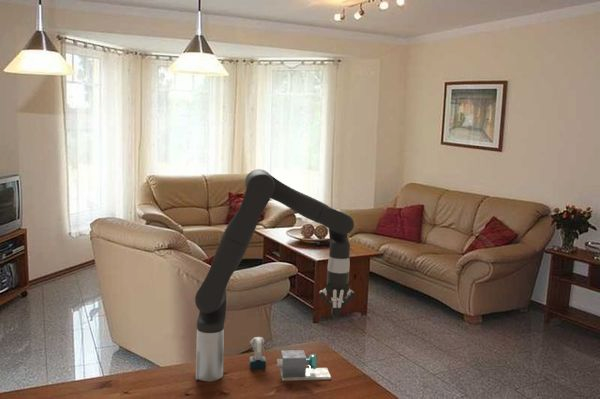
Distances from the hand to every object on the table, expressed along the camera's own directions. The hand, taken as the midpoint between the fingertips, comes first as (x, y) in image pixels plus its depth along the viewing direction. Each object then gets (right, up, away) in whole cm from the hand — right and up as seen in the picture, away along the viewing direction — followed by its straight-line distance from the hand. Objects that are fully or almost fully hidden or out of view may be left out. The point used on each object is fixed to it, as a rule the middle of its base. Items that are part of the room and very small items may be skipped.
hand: (335, 317), depth 194 cm
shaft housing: (-11, -21, +1) cm, 23 cm away
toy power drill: (-28, -20, +6) cm, 35 cm away
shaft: (-14, -18, 0) cm, 23 cm away
